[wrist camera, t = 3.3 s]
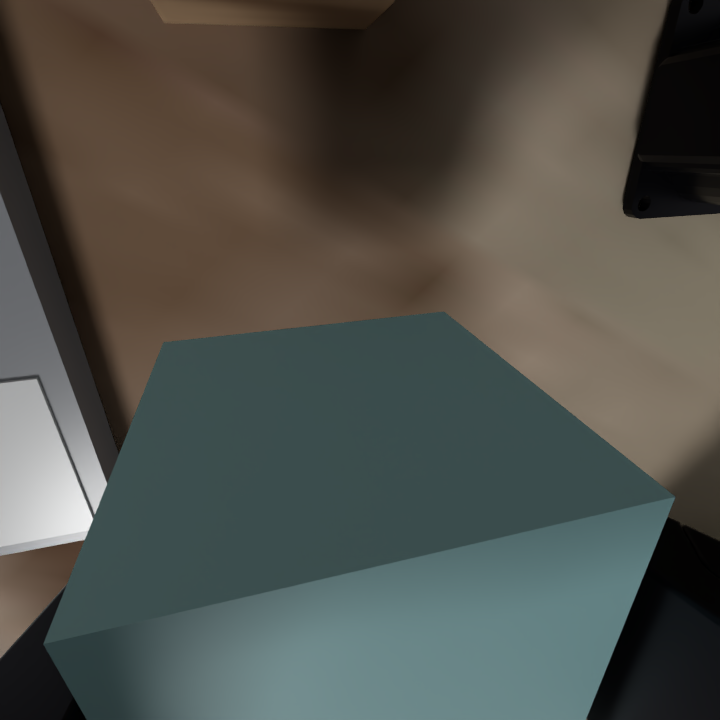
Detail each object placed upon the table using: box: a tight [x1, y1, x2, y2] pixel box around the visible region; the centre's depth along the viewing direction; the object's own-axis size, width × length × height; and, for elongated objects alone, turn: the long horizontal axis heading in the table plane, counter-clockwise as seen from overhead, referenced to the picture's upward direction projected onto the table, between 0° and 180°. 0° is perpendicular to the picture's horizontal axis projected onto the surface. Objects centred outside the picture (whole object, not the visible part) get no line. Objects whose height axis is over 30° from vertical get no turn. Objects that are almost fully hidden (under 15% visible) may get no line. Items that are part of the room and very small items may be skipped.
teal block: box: [43, 312, 675, 720], centre depth 7 cm, size 5×5×5 cm
